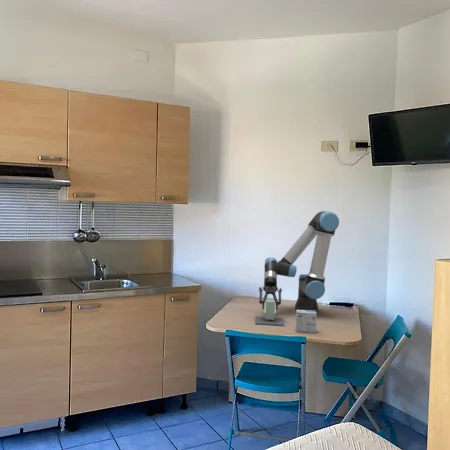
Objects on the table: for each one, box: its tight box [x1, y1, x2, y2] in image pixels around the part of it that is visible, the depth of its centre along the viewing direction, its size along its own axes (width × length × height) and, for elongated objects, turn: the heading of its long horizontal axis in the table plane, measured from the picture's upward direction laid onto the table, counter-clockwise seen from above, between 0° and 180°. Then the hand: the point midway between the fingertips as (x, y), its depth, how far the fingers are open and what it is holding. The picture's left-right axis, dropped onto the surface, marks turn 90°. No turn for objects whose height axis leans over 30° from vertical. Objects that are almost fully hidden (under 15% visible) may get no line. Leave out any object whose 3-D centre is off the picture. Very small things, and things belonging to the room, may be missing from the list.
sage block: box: [264, 299, 275, 320], centre depth 267 cm, size 5×5×10 cm
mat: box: [254, 315, 285, 327], centre depth 267 cm, size 16×16×1 cm
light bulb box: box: [295, 310, 318, 334], centre depth 250 cm, size 11×7×11 cm, turn 84°
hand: (269, 313), depth 264 cm, fingers closed on sage block, 5 cm apart
